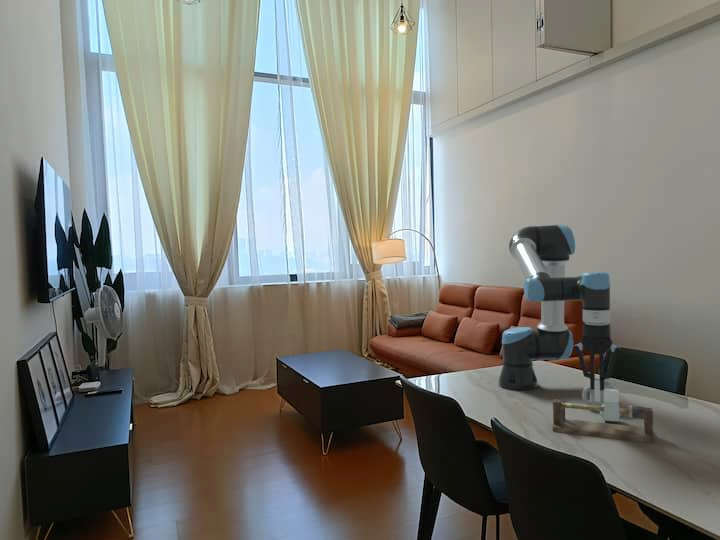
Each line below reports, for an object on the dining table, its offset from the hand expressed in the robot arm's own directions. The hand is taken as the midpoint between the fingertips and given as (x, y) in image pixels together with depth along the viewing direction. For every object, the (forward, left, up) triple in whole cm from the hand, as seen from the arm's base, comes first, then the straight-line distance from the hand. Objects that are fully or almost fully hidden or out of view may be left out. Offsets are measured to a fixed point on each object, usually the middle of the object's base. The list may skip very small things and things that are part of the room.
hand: (597, 400), depth 152 cm
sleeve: (+2, +3, -5) cm, 6 cm away
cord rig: (0, +1, -10) cm, 10 cm away
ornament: (-7, +8, -10) cm, 15 cm away
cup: (-19, +12, -10) cm, 25 cm away
